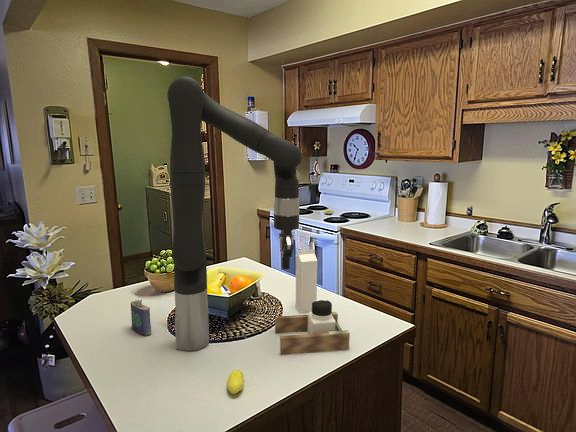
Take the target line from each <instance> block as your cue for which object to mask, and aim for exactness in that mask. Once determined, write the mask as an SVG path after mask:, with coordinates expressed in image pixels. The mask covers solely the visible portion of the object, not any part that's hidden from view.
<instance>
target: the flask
mask: <svg viewBox="0 0 576 432" xmlns="http://www.w3.org/2000/svg"><path fill="white" fill-rule="evenodd" d="M142 302H143V300H142V298H141V299H140V300H139V299H135V300H133V301H131V302H130V311H131V312H130V314H131V316H130V317H131V330H132V331H133V332H134V333H136V334H139V335H141V336H143V337H149V336H151V335H152V325H151V314H150V313H151V308H150V307H149V306H147V305H145V304H143V303H142Z"/></svg>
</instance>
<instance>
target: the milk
mask: <svg viewBox="0 0 576 432" xmlns="http://www.w3.org/2000/svg"><path fill="white" fill-rule="evenodd" d="M317 294H318V259H317V256H316V250H315V249H304V250H303V249H301V250H298V255H296V258H295V308H296V309H297V310H298V312H299V313H300V314H307V313H312V302H313V301H315V300H318V299H317Z"/></svg>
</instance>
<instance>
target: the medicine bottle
mask: <svg viewBox="0 0 576 432" xmlns="http://www.w3.org/2000/svg"><path fill="white" fill-rule="evenodd" d="M332 312H333V304H332V302H331V301H330V300H328V299H323V298H321V299H320V298H319V299H317V300H315V301H313V302H312V312H307V315H308V331H307V334H315V333H328V332H330V331H336V321H335V319H334V318H333V316H332Z"/></svg>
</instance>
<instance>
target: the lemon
mask: <svg viewBox="0 0 576 432" xmlns="http://www.w3.org/2000/svg"><path fill="white" fill-rule="evenodd" d="M244 383H245V379H244V373H243V371H242V370H241V369H234V370H232V371H231V372H230V373H229V375H228V377H227V380H226V387H227V389H228V391H229V392H230V393H231V394H233V395H234V394H238V393H239V392H240V391H242V390H243V388H244Z"/></svg>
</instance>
